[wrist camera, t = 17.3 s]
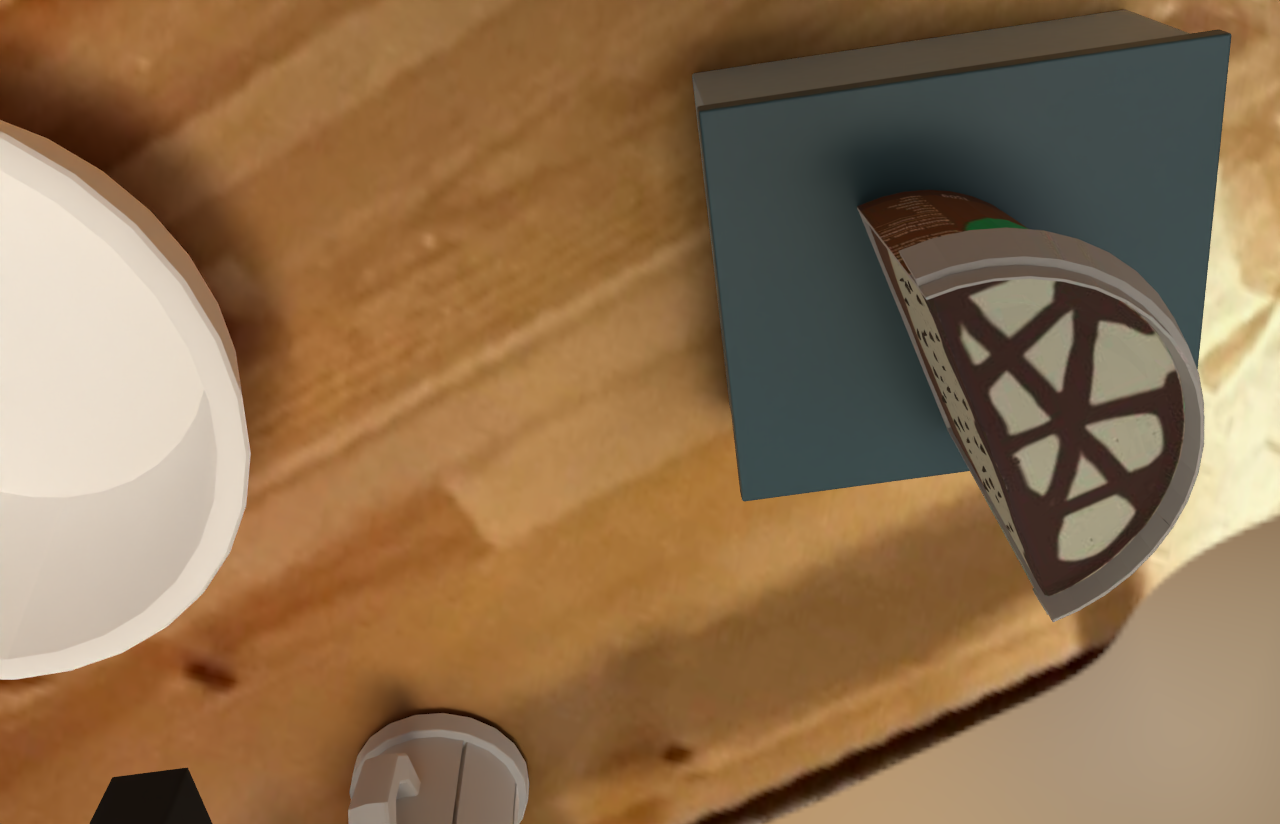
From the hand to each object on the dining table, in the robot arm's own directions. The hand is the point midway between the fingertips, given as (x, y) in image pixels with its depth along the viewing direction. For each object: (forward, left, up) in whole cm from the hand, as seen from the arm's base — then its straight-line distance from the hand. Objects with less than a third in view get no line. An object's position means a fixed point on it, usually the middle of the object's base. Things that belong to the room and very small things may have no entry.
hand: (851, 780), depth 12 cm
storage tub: (-9, +7, -35) cm, 37 cm away
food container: (-10, +7, -28) cm, 30 cm away
